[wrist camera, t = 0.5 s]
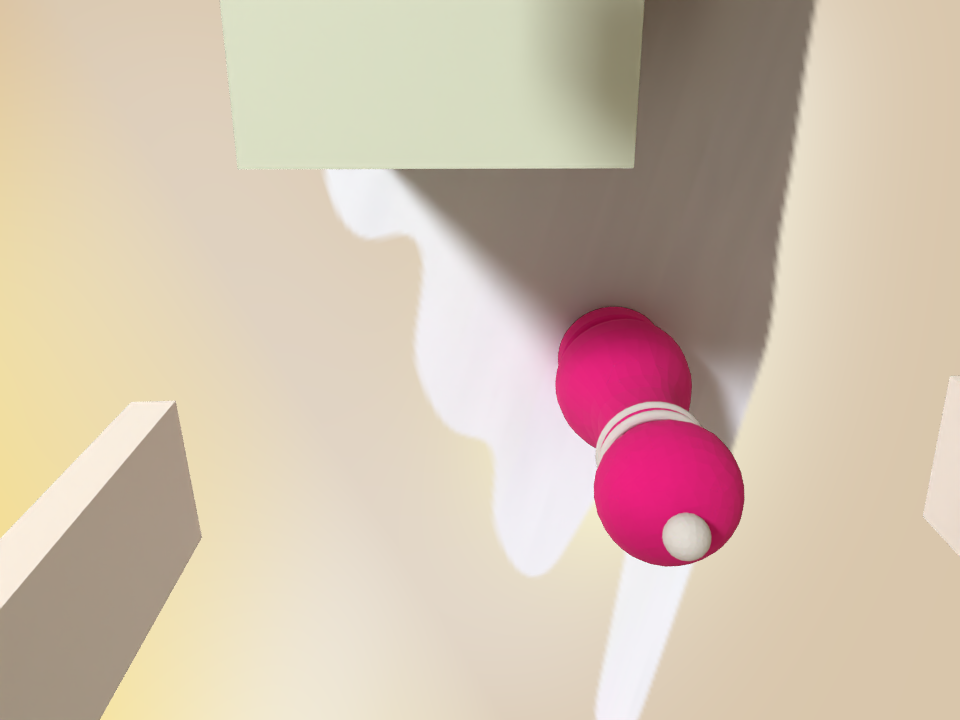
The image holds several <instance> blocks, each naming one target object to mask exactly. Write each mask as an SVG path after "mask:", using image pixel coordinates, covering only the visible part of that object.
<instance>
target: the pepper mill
mask: <svg viewBox="0 0 960 720" xmlns="http://www.w3.org/2000/svg"><path fill="white" fill-rule="evenodd" d="M558 364H559V366H558V369H557V375H556V395H557V400H558V403H559V405H560V408H561V410H562V413H563V415H564V417H565V419H566V421H567V422H568V424H569V426H570V427H571V428H572V429H573V430H574V431H575V433H576V434H578V435H579V436H580V437H581V438H582V439H583V440H584V441H586V442H587V443H588V444H589V445H591V446H593V447H594V448H596V455H595V457H596V464H597V468H598V469H597V471H596V475H595V481H594V499H595V504H596V508H597V513H598V515H599V517H600V519H601V521H602V524H603V526H604V528H605V530H606V531H607V533H608V534H609V535H610V537H611V538H612V539H613V541H614V542H615V543H616V544H618V546H620V547H621V548H622V549H623V550H624V551H626V552H627V553H628V554H630V555H631V556H633V557H635V558H637V559H639V560H642V561H644V562H647V563H650V564H654V565H660V566H681V565H686V564H691V563H694V562H697V561H699V560H702V559H704V558H706V557H708V556H709V555H711V554H713V553H715V552H716V551H717V550H718V549H720V548H721V547H722V546H723V545H724V544H725V543H726V542H727V541H728V540H729V538H730V537H731V536H732V535H733V533H734V531H735V530H736V528H737V526H738V524H739V522H740V519H741V515H742V510H743V505H744V484H743V480H742V475H741V471H740V469H739V467H738V465H737V462H736V460H735V459H734V457H733V455H732V453H731V452H730V450H729V449H728V448H727V447H726V446H725V444H724V443H723V442H722V441H721V440H720V439H719V438H718V437H717V436H716V435H715V434H713V433H711V432H710V431H708V430H706V429H704V428H702V426H701V425H700V423H699V422H698V420H697V419H696V418H695V417H694V416H693V415H692V414H691V413H689V412H688V410H689V406H690V401H691V390H692V383H691V374H690V371H689V367H688V364H687V361H686V359H685V356H684V354H683V352H682V350H681V349H680V347H679V346H678V344H677V343H676V342H675V341H674V340H673V338H672V337H671V336H669V335H668V334H667V333H665V332H664V331H663V330H661V329H660V328H658V327H656V326H655V325H654V324H653V323H652V322H651V321H650V320H649V319H648V318H646V317H645V316H644V315H642V314H640V313H639V312H636V311H634V310H632V309H628V308H624V307H605V308H600V309H596V310H594V311H591V312H589V313H587V314H585V315H583V316H582V317H581V318H579V319H578V320H577V321H576V322H574V323H573V324H572V325H571V327H570V328H569V329H568V330H567V332H566V333H565V335H564V337H563V339H562V341H561V344H560V348H559V353H558Z"/></svg>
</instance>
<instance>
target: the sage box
mask: <svg viewBox="0 0 960 720" xmlns="http://www.w3.org/2000/svg"><path fill="white" fill-rule="evenodd" d="M644 2H645V0H220V8H221V16H222V26H223V36H224V45H225V54H226V64H227V73H228V82H229V92H230V101H231V110H232V120H233V130H234V139H235V148H236V158H237V167H238V169H561V168H634V159H635V144H636V128H637V112H638V96H639V81H640V65H641V49H642V33H643V18H644Z"/></svg>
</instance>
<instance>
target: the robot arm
mask: <svg viewBox="0 0 960 720" xmlns="http://www.w3.org/2000/svg"><path fill="white" fill-rule="evenodd" d="M923 517H924V518H925V519H926V520H927V521H928V523H929V524H930V525H931V526H932V527H933V528H934V529H935V530H936V531H937V532H938V534H939V535H941V537H942V538H943V539H944V540H945V541H946V542H947V543H948V544H949V545H950V546H951V548H952V549H953V550H954V551H955V552H956V553H957V554H958V555H959V557H960V376H950V378H949V383H948V388H947V393H946V399H945V404H944V409H943V414H942V420H941V425H940V430H939V435H938V440H937V446H936V451H935V456H934V461H933V467H932V471H931V477H930V482H929V487H928V492H927V498H926V503H925V508H924V514H923ZM201 538H202V536H201V531H200V526H199V521H198V515H197V510H196V505H195V500H194V494H193V490H192V485H191V479H190V474H189V469H188V463H187V458H186V453H185V448H184V443H183V437H182V433H181V427H180V422H179V417H178V411H177V406H176V401H156V402H131V403H130V404H129V405H128V406H127V407H126V408H125V409H124V410H123V411H122V412H121V413H120V415H118V416H117V417H116V419H115V420H114V421H113V422H112V423H111V424H110V425H109V426H108V427H107V428H106V429H105V430H104V431H103V432H102V433H101V434H100V435H99V436H98V437H97V438H96V439H95V440H94V441H93V442H92V444H91V445H90V446H89V447H88V448H87V449H86V450H85V451H84V452H83V453H82V454H81V455H80V456H79V457H78V458H77V459H76V460H75V461H74V462H73V463H72V464H71V466H69V468H68V469H67V470H66V471H65V472H64V473H63V474H62V475H61V476H60V477H59V478H58V479H57V480H56V481H55V482H54V483H53V484H52V485H51V486H50V487H49V488H48V489H47V490H46V491H45V492H44V494H43V495H42V496H41V497H40V498H39V499H38V500H37V501H36V502H35V503H34V504H33V505H32V506H31V507H30V508H29V509H28V510H27V511H26V512H25V513H24V515H23V516H22V517H21V518H20V519H19V520H18V521H17V522H16V523H15V524H14V525H13V526H12V527H11V528H10V529H9V530H8V531H7V532H6V533H5V534H4V535H3V536H2V538H1V539H0V720H100V718H101V716H102V715H103V713H104V711H105V709H106V707H107V706H108V704H109V702H110V700H111V698H112V697H113V695H114V693H115V691H116V690H117V688H118V686H119V684H120V682H121V681H122V679H123V677H124V675H125V674H126V672H127V670H128V668H129V666H130V665H131V663H132V661H133V659H134V657H135V656H136V654H137V652H138V650H139V649H140V647H141V645H142V643H143V641H144V640H145V638H146V636H147V634H148V632H149V631H150V629H151V627H152V625H153V624H154V622H155V620H156V618H157V616H158V615H159V613H160V611H161V609H162V608H163V606H164V604H165V602H166V600H167V599H168V597H169V595H170V593H171V591H172V589H173V588H174V586H175V584H176V583H177V581H178V579H179V577H180V575H181V573H182V572H183V570H184V568H185V566H186V564H187V563H188V561H189V559H190V558H191V556H192V554H193V552H194V550H195V549H196V547H197V545H198V543H199V541H200V540H201Z"/></svg>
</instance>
